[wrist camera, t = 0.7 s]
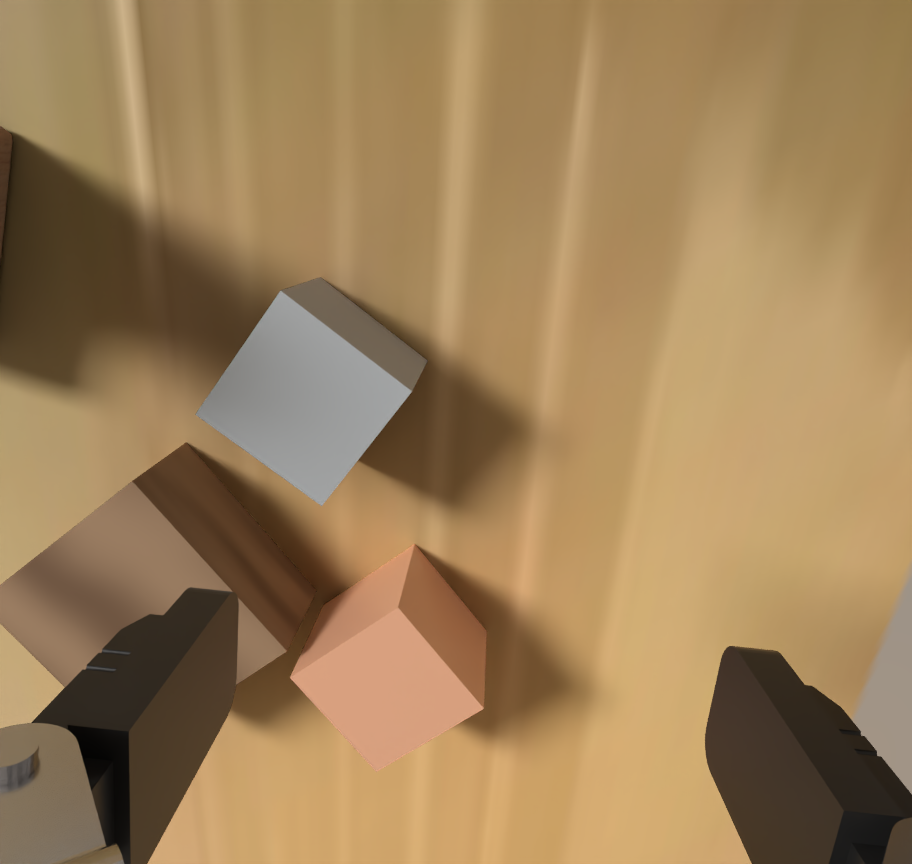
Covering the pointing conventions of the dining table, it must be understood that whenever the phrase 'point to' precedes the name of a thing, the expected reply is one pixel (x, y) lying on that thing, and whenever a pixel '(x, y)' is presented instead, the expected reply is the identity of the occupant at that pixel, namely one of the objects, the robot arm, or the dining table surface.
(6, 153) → the wooden block
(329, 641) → the terracotta cube
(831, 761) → the robot arm
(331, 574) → the dining table surface
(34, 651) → the walnut base block
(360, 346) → the slate cube
